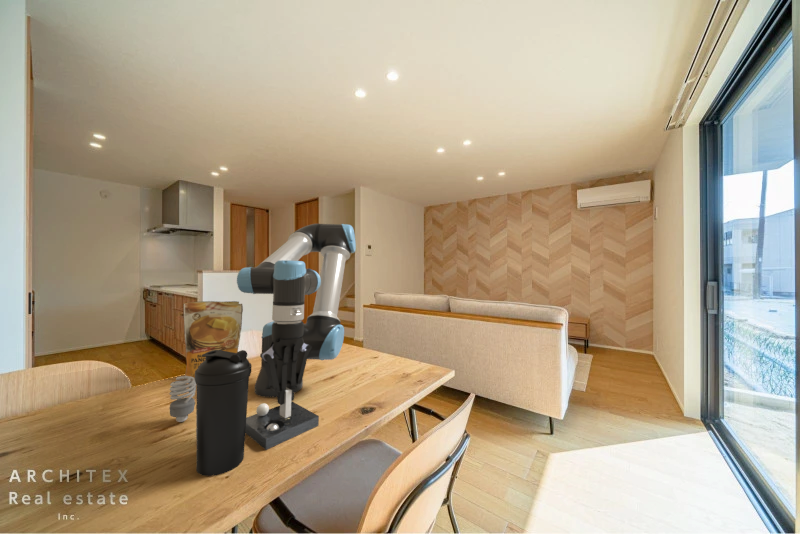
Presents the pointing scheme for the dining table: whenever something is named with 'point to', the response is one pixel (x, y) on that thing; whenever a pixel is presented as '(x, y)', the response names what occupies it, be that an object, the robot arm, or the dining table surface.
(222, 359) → the water bottle
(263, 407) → the white plastic ball
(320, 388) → the dining table surface
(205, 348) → the pancake mix bag
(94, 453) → the dining table surface
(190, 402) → the light bulb
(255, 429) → the plate
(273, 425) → the steel ball
